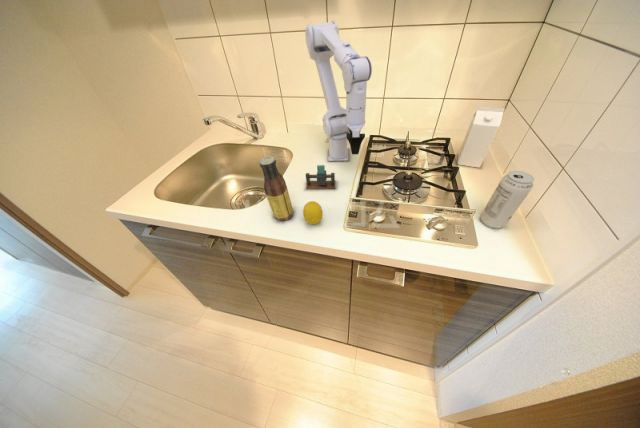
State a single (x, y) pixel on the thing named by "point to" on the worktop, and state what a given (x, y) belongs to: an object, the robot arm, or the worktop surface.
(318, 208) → the lemon
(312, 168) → the worktop surface
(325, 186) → the handle rail
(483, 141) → the milk carton
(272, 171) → the sauce bottle
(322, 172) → the clip
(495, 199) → the energy drink can
